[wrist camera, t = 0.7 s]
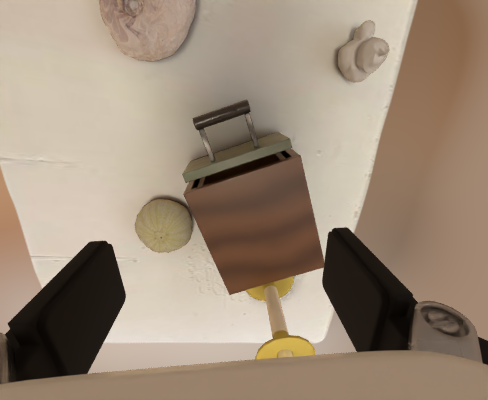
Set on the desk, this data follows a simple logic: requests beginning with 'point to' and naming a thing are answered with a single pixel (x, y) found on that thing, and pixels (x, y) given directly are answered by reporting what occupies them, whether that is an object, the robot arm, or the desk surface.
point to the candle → (279, 323)
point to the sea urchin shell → (164, 225)
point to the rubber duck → (362, 53)
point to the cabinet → (258, 224)
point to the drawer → (233, 148)
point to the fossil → (148, 25)
